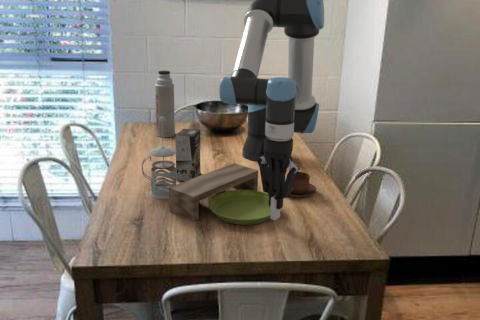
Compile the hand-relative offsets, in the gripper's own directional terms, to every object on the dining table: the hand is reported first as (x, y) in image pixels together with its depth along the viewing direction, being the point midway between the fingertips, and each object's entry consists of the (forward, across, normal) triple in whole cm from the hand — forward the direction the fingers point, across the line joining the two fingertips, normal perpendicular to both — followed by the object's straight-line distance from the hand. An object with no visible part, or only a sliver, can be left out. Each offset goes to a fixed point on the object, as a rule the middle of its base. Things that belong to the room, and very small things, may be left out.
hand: (275, 218), depth 141 cm
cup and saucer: (+2, -8, +23) cm, 25 cm away
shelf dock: (+2, -23, 0) cm, 23 cm away
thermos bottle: (+2, -88, +38) cm, 95 cm away
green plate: (+2, -11, 0) cm, 11 cm away
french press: (+2, -40, -7) cm, 40 cm away
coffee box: (+2, -44, +9) cm, 45 cm away
